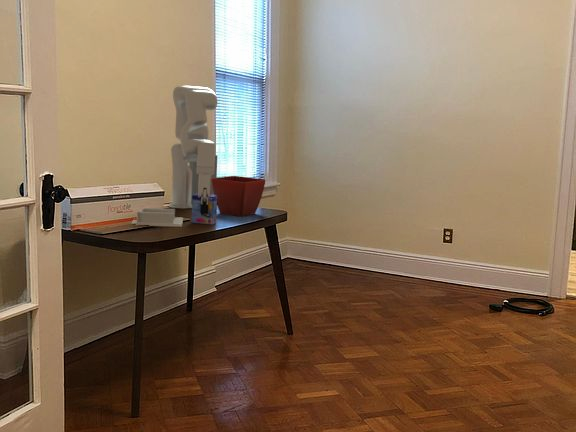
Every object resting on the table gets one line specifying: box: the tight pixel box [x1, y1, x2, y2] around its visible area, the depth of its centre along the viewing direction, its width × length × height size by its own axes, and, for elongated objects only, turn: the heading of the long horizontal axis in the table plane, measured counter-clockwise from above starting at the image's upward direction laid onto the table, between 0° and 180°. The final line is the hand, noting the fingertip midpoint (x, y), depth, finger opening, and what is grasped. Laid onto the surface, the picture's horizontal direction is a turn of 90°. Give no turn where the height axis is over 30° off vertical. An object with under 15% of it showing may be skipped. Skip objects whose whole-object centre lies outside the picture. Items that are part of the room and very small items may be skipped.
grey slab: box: [188, 154, 218, 203], centre depth 307 cm, size 14×6×25 cm, turn 123°
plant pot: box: [212, 175, 266, 217], centre depth 276 cm, size 19×19×17 cm
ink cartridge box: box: [191, 190, 218, 225], centre depth 248 cm, size 10×6×14 cm, turn 84°
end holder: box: [131, 207, 184, 228], centre depth 244 cm, size 16×20×5 cm
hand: (204, 212), depth 248 cm, fingers closed on ink cartridge box, 6 cm apart
